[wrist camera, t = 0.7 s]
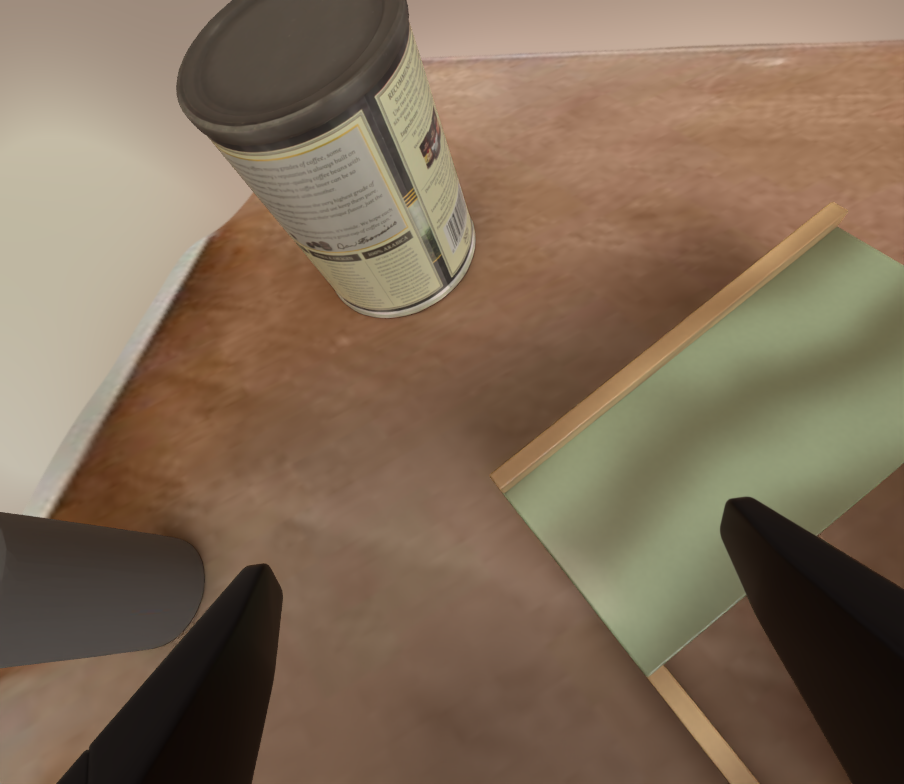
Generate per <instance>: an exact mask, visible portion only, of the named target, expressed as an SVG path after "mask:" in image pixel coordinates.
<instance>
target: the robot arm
mask: <svg viewBox="0 0 904 784" xmlns="http://www.w3.org/2000/svg"><path fill="white" fill-rule="evenodd" d="M720 535H721V539H722V541H723V543H724V546H725V548H726V550H727V552H728V555H729V557H730V559H731V561H732V564H733V566H734V568H735V570H736V573H737V575H738V577H739V579H740V582H741V584H742V586H743V588H744V591H745V593H746V595H747V597H748V600H749V602H750V604H751V606H752V608H753V610H754V613H755V615H756V617H757V618H758V620H759V622H760V624H761V626H762V628H763V629H764V631H765V633H766V635H767V636H768V638H769V640H770V642H771V643H772V645H773V647H774V649H775V650H776V652H777V654H778V655H779V657H780V659H781V661H782V662H783V664H784V666H785V668H786V669H787V671H788V673H789V675H790V676H791V678H792V680H793V682H794V683H795V685H796V687H797V689H798V690H799V692H800V694H801V696H802V697H803V699H804V701H805V702H806V704H807V706H808V708H809V709H810V711H811V713H812V715H813V716H814V718H815V720H816V722H817V723H818V725H819V727H820V729H821V730H822V732H823V734H824V736H825V737H826V739H827V741H828V743H829V744H830V746H831V748H832V749H833V751H834V753H835V755H836V756H837V758H838V760H839V762H840V763H841V765H842V767H843V769H844V770H845V772H846V774H847V776H848V777H849V779H850V781H851V783H852V784H904V589H903V588H901V587H900V586H898V585H896V584H895V583H893V582H891V581H890V580H888V579H886V578H885V577H883V576H881V575H880V574H878V573H877V572H875V571H873V570H872V569H870V568H868V567H867V566H865V565H863V564H862V563H860V562H858V561H857V560H855V559H853V558H852V557H850V556H849V555H847V554H845V553H844V552H842V551H840V550H839V549H837V548H835V547H834V546H832V545H830V544H829V543H827V542H825V541H824V540H822V539H821V538H819V537H817V536H816V535H814V534H812V533H811V532H809V531H807V530H806V529H804V528H802V527H801V526H799V525H797V524H796V523H794V522H792V521H791V520H789V519H788V518H786V517H784V516H783V515H781V514H779V513H778V512H776V511H774V510H773V509H771V508H769V507H768V506H766V505H764V504H763V503H761V502H760V501H758V500H756V499H754V498H752V497H749V496H745V497H737V498H731V499H728V500H727V501H726V503H725V507H724V511H723V515H722V520H721V524H720ZM282 601H283V594H282V589H281V586H280V584H279V583H278V581H277V579H276V577H275V575H274V573H273V572H272V570H271V568H270V566H269V565H267V564H264V563H263V564H256V565H249V566H246V567H245V568H244V569H243V570H242V571H241V572H240V573H239V574H238V575H237V576H236V577H235V579H234V580H233V581H232V582H231V583H230V584H229V586H228V587H227V588H226V589H225V590H224V591H223V592H222V594H221V595H220V596H219V597H218V598H217V599H216V601H215V602H214V603H213V604H212V605H211V606H210V607H209V609H208V610H207V611H206V612H205V613H204V614H203V615H202V617H201V618H200V619H199V620H198V621H197V622H196V624H195V625H194V626H193V627H192V628H191V629H190V630H189V632H188V633H187V634H186V635H185V636H184V637H183V639H182V640H181V641H180V642H179V643H178V644H177V645H176V647H175V648H174V649H173V650H172V651H171V652H170V654H169V655H168V656H167V657H166V658H165V659H164V660H163V662H162V663H161V664H160V665H159V666H158V667H157V668H156V670H155V671H154V672H153V673H152V674H151V675H150V677H149V678H148V679H147V680H146V681H145V682H144V683H143V685H142V686H141V687H140V688H139V689H138V690H137V692H136V693H135V694H134V695H133V696H132V697H131V698H130V700H129V701H128V702H127V703H126V704H125V705H124V707H123V708H122V709H121V710H120V711H119V712H118V713H117V715H116V716H115V717H114V718H113V719H112V720H111V721H110V723H109V724H108V725H107V726H106V727H105V728H104V730H103V731H102V732H101V733H100V734H99V735H98V736H97V738H96V739H95V740H94V741H93V742H92V743H91V745H90V746H89V750H86V751H84V752H83V754H82V755H81V756H80V757H79V758H78V759H77V760H76V762H75V763H74V764H73V765H72V766H71V767H70V769H69V770H68V771H67V772H66V773H65V774H64V775H63V777H62V778H61V779H60V780H59V781H58V782H57V783H56V784H252V779H253V775H254V770H255V765H256V761H257V756H258V751H259V747H260V742H261V737H262V733H263V728H264V723H265V719H266V714H267V709H268V705H269V700H270V695H271V691H272V685H273V680H274V673H275V666H276V657H277V648H278V638H279V629H280V620H281V611H282Z"/></svg>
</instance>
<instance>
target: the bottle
mask: <svg viewBox="0 0 904 784" xmlns="http://www.w3.org/2000/svg"><path fill="white" fill-rule="evenodd" d="M203 589H204V568H203V564H202V561H201V558H200V556H199V554H198V552H197V551H196V550H195V549H194V547H193V546H192V545H190V544H189V543H188V542H186V541H184V540H182V539H178V538H174V537H168V536H162V535H156V534H149V533H143V532H137V531H130V530H123V529H116V528H109V527H102V526H95V525H88V524H81V523H74V522H67V521H60V520H54V519H47V518H40V517H33V516H26V515H18V514H11V513H3V512H0V668H6V667H14V666H22V665H31V664H39V663H47V662H55V661H64V660H72V659H80V658H89V657H97V656H104V655H111V654H118V653H126V652H133V651H140V650H147V649H153V648H157V647H160V646H163V645H165V644H167V643H168V642H170V641H172V640H173V639H175V638H176V637H177V636H178V635H180V634H181V633H182V631H183V630H184V629H185V628H186V627H187V626H188V624H189V623H190V621H191V620H192V618H193V617H194V615H195V613H196V611H197V609H198V606H199V604H200V602H201V598H202V594H203Z"/></svg>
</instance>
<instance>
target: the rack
mask: <svg viewBox="0 0 904 784" xmlns="http://www.w3.org/2000/svg"><path fill="white" fill-rule="evenodd" d="M847 212H848V210H846V209H845V208H843V207H841V206H839V205H838V204H836V203H834V202H831V203H829V204H828V205H827V206H826V207H824V208H823V209H822V210H821V211H819V212H818V213H817V214H816V215H814V216H813V217H812V218H811V219H809V220H808V221H807V222H806V223H804V224H803V225H802V226H801V227H799V228H798V229H797V230H796V231H794V232H793V233H792V234H791V235H789V236H788V237H787V238H786V239H784V240H783V241H782V242H781V243H779V244H778V245H777V246H776V247H774V248H773V249H772V250H771V251H769V252H768V253H767V254H766V255H764V256H763V257H762V258H761V259H759V260H758V261H757V262H756V263H754V264H753V265H752V266H751V267H749V268H748V269H747V270H745V271H744V272H743V273H742V274H740V275H739V276H738V277H737V278H735V279H734V280H733V281H732V282H730V283H729V284H728V285H727V286H725V287H724V288H723V289H722V290H720V291H719V292H718V293H717V294H715V295H714V296H713V297H712V298H710V299H709V300H708V301H707V302H705V303H704V304H703V305H702V306H700V307H699V308H698V309H697V310H695V311H694V312H693V313H692V314H690V315H689V316H688V317H687V318H685V319H684V320H683V321H682V322H680V323H679V324H678V325H677V326H675V327H674V328H673V329H672V330H670V331H669V332H668V333H667V334H665V335H664V336H663V337H662V338H660V339H659V340H658V341H657V342H655V343H654V344H653V345H652V346H650V347H649V348H648V349H646V350H645V351H644V352H643V353H641V354H640V355H639V356H638V357H636V358H635V359H634V360H633V361H631V362H630V363H629V364H628V365H626V366H625V367H624V368H623V369H621V370H620V371H619V372H618V373H616V374H615V375H614V376H613V377H611V378H610V379H609V380H608V381H606V382H605V383H604V384H603V385H601V386H600V387H599V388H598V389H596V390H595V391H594V392H593V393H591V394H590V395H589V396H588V397H586V398H585V399H584V400H583V401H581V402H580V403H579V404H578V405H576V406H575V407H574V408H573V409H571V410H570V411H569V412H568V413H566V414H565V415H564V416H563V417H561V418H560V419H559V420H558V421H556V422H555V423H554V424H552V425H551V426H550V427H549V428H547V429H546V430H545V431H544V432H542V433H541V434H540V435H539V436H537V437H536V438H535V439H534V440H532V441H531V442H530V443H529V444H527V445H526V446H525V447H524V448H522V449H521V450H520V451H519V452H517V453H516V454H515V455H514V456H512V457H511V458H510V459H509V460H507V461H506V462H505V463H504V464H502V465H501V466H500V467H499V468H497V469H496V470H495V471H494V472H492V473H491V474H490V475H489V476H490V478H491V479H492V481H493V482H494V483H495V484H496V486H497V487H498V488H499V490H500V491H501V492H502V493H503V495H504V496H505V497H506V498H507V500H508V501H509V502H510V504H511V505H512V506H513V507H514V509H515V510H516V511H517V512H518V514H519V515H520V516H521V518H522V519H523V520H524V521H525V523H526V524H527V525H528V527H529V528H530V529H531V530H532V532H533V533H534V534H535V535H536V537H537V538H538V539H539V541H540V542H541V543H542V544H543V546H544V547H545V548H546V549H547V551H548V552H549V553H550V555H551V556H552V557H553V558H554V560H555V561H556V562H557V564H558V565H559V566H560V567H561V569H562V570H563V571H564V572H565V574H566V575H567V576H568V578H569V579H570V580H571V581H572V583H573V584H574V585H575V587H576V588H577V589H578V590H579V592H580V593H581V594H582V595H583V597H584V598H585V599H586V601H587V602H588V603H589V604H590V606H591V607H592V608H593V609H594V611H595V612H596V613H597V615H598V616H599V617H600V618H601V620H602V621H603V622H604V624H605V625H606V626H607V627H608V629H609V630H610V631H611V632H612V634H613V635H614V636H615V638H616V639H617V640H618V641H619V643H620V644H621V645H622V647H623V648H624V649H625V650H626V652H627V653H628V654H629V655H630V657H631V658H632V659H633V661H634V662H635V663H636V664H637V666H638V667H639V668H640V669H641V671H642V672H643V673H644V675H645V676H646V677H647V678H648V680H649V681H650V682H651V683H652V685H653V686H654V687H655V689H656V690H657V691H658V692H659V694H660V695H661V696H662V697H663V699H664V700H665V701H666V703H667V704H668V705H669V706H670V708H671V709H672V710H673V711H674V713H675V714H676V715H677V717H678V718H679V719H680V720H681V722H682V723H683V724H684V726H685V727H686V728H687V729H688V731H689V732H690V733H691V734H692V736H693V737H694V738H695V740H696V741H697V742H698V743H699V745H700V746H701V747H702V749H703V750H704V751H705V752H706V754H707V755H708V756H709V757H710V759H711V760H712V761H713V763H714V764H715V765H716V766H717V768H718V769H719V770H720V771H721V773H722V774H723V775H724V777H725V778H726V779H727V780H728V782H729V783H730V784H760V783H759V782H758V780H757V779H756V778H755V777H754V776H753V774H752V773H751V772H750V771H749V769H748V768H747V767H746V766H745V764H744V763H743V762H742V761H741V759H740V758H739V757H738V756H737V755H736V753H735V752H734V751H733V750H732V748H731V747H730V746H729V745H728V743H727V742H726V741H725V740H724V738H723V737H722V736H721V735H720V734H719V732H718V731H717V730H716V729H715V727H714V726H713V725H712V724H711V722H710V721H709V720H708V719H707V717H706V716H705V715H704V714H703V713H702V711H701V710H700V709H699V708H698V706H697V705H696V704H695V703H694V701H693V700H692V699H691V698H690V696H689V695H688V694H687V693H686V692H685V690H684V689H683V688H682V687H681V685H680V684H679V683H678V682H677V680H676V679H675V678H674V677H673V675H672V674H671V673H670V672H669V671H668V669H667V668H666V667H665V666H664V664H665V663H666V662H667V661H668V660H670V659H671V658H672V657H673V656H674V655H676V654H677V653H678V652H679V651H680V650H682V649H683V648H684V647H685V646H686V645H688V644H689V643H690V642H691V641H692V640H693V639H695V638H696V637H697V636H698V635H699V634H701V633H702V632H703V631H704V630H705V629H707V628H708V627H709V626H710V625H711V624H713V623H714V622H715V621H716V620H717V619H719V618H720V617H721V616H722V615H723V614H725V613H726V612H727V611H728V610H729V609H730V608H732V607H733V606H734V605H735V604H736V603H738V602H739V601H740V600H741V599H742V598H744V597H745V596H746V593H745V591H744V588H743V586H742V584H741V582H740V579H739V577H738V575H737V573H736V570H735V568H734V566H733V564H732V561H731V559H730V557H729V555H728V552H727V550H726V548H725V546H724V543H723V541H722V539H721V535H720V524H721V520H722V515H723V511H724V507H725V503H726V501H727V500H728V499H731V498H737V497H745V496H749V497H752V498H754V499H756V500H758V501H760V502H761V503H763V504H764V505H766V506H768V507H769V508H771V509H773V510H774V511H776V512H778V513H779V514H781V515H783V516H784V517H786V518H788V519H789V520H791V521H792V522H794V523H796V524H797V525H799V526H801V527H802V528H804V529H806V530H807V531H809V532H811V533H812V534H814V535H816V536H818V535H819V534H820V533H821V532H822V531H824V530H825V529H826V528H827V527H828V526H830V525H831V524H832V523H833V522H834V521H836V520H837V519H838V518H839V517H840V516H842V515H843V514H844V513H845V512H846V511H848V510H849V509H850V508H851V507H852V506H853V505H855V504H856V503H857V502H858V501H859V500H861V499H862V498H863V497H864V496H865V495H867V494H868V493H869V492H870V491H871V490H873V489H874V488H875V487H876V486H877V485H879V484H880V483H881V482H882V481H883V480H885V479H886V478H887V477H888V476H889V475H891V474H892V473H893V472H894V471H895V470H896V469H898V468H899V467H900V466H901V465H902V464H904V265H902V264H900V263H898V262H897V261H895V260H893V259H892V258H890V257H888V256H887V255H885V254H883V253H881V252H880V251H878V250H876V249H875V248H873V247H871V246H870V245H868V244H866V243H864V242H863V241H861V240H859V239H858V238H856V237H854V236H853V235H851V234H849V233H847V232H846V231H844V230H842V229H841V228H839V227H837V226H838V225H839V224H840V223H841V221H842V220H843V218H844V217H845V215H846V214H847Z"/></svg>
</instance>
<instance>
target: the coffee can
mask: <svg viewBox="0 0 904 784" xmlns="http://www.w3.org/2000/svg"><path fill="white" fill-rule="evenodd" d="M176 90H177V97H178V102H179V105H180V107H181V108H182V111H183V112H184V113H185V115H186V116H187V118H188V119H189V120H190V121H191V122H192V123H193V124H194V125H195V126H196V127H197V128H198V129H199V130H200V131H201V132H203V133H204V134H205V135H207V136H208V138H209V139H210V140H211V141H212V142H213V144H214V145H215V146H216V147H217V148H218V150H219V151H220V152H221V153H222V154H223V156H224V157H225V158H226V159H227V161H228V162H229V163H230V164H231V165H232V167H233V168H234V169H235V170H236V171H237V173H238V174H239V175H240V176H241V178H242V179H243V180H244V181H245V182H246V184H247V185H248V186H249V187H250V188H251V190H252V191H253V192H254V193H255V194H256V196H257V197H258V198H259V199H260V200H261V202H262V203H263V204H264V205H265V206H266V208H267V209H268V210H269V211H270V213H271V214H272V215H273V216H274V217H275V219H276V220H277V221H278V222H279V223H280V225H281V226H282V227H283V228H284V229H285V231H286V232H287V233H288V234H289V236H290V237H291V238H292V239H293V240H294V241H295V242H296V244H297V245H298V246H299V247H300V248H301V250H302V251H303V252H304V253H305V254H306V256H307V257H308V258H309V259H310V261H311V262H312V263H313V264H314V265H315V266H316V268H317V269H318V270H319V271H320V273H321V274H322V275H323V276H324V277H325V279H326V280H327V281H328V282H329V283H330V285H331V286H332V287H333V288H334V290H335V291H336V293H337V295H338V296H339V297H340V299H341V300H342V301H343V302H344V303H345V304H346V305H348V306H349V307H350V308H352V309H353V310H355V311H357V312H358V313H361V314H364V315H368V316H372V317H377V318H395V317H401V316H406V315H410V314H413V313H417V312H420V311H422V310H423V309H425V308H427V307H429V306H431V305H433V304H435V303H436V302H438V301H439V300H441V299H442V298H444V297H445V296H446V295H447V294H448V293H449V292H451V291H452V290H453V289H454V288H455V287H456V286H457V284H458V283H459V282H460V281H461V279H462V278H463V277H464V275H465V274H466V272H467V270H468V268H469V265H470V263H471V261H472V258H473V254H474V250H475V242H476V239H475V229H474V225H473V221H472V219H471V217H470V215H469V213H468V210H467V206H466V203H465V200H464V197H463V193H462V190H461V187H460V184H459V180H458V177H457V174H456V170H455V167H454V164H453V161H452V158H451V154H450V151H449V148H448V145H447V142H446V138H445V135H444V132H443V129H442V126H441V122H440V119H439V116H438V113H437V109H436V106H435V103H434V100H433V97H432V93H431V90H430V87H429V83H428V80H427V77H426V74H425V71H424V67H423V64H422V61H421V58H420V54H419V51H418V48H417V45H416V42H415V39H414V35H413V32H412V29H411V26H410V23H409V13H408V5H407V1H406V0H232V1H231V2H230V3H228V4H227V5H226V6H225V7H224V8H223V9H222V10H221V11H219V12H218V13H217V14H216V15H215V16H214V17H213V18H212V19H211V20H210V21H209V22H208V24H207V25H206V26H205V27H204V28H203V29H202V30H201V32H200V33H199V34H198V36H197V37H196V39H195V40H194V41H193V43H192V44H191V46H190V48H189V49H188V51H187V52H186V54H185V56H184V59H183V61H182V64H181V66H180V69H179V72H178V77H177V85H176Z"/></svg>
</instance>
